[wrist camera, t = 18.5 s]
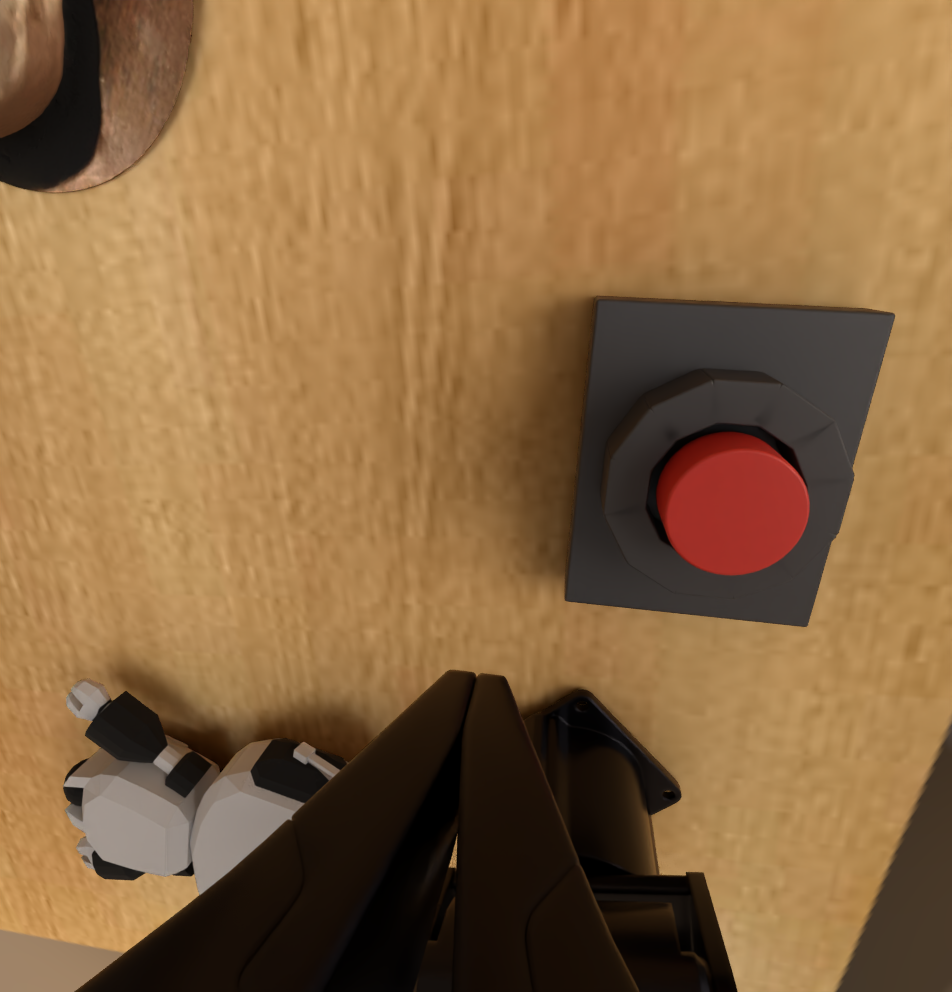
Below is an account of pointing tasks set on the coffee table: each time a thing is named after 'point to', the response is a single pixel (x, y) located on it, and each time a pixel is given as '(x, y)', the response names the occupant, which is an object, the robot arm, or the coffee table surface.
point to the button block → (705, 410)
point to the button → (731, 503)
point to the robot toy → (178, 793)
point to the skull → (86, 86)
